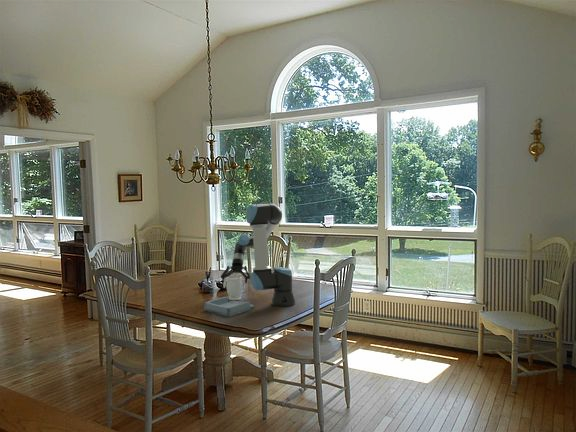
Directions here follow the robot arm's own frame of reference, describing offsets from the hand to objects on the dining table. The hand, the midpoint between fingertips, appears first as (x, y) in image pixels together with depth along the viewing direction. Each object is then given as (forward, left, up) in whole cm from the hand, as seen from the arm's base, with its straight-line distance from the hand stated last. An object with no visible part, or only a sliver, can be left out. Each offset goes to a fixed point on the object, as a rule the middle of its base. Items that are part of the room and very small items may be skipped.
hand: (233, 287), depth 295 cm
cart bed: (-16, +18, -8) cm, 26 cm away
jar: (0, 0, -8) cm, 8 cm away
